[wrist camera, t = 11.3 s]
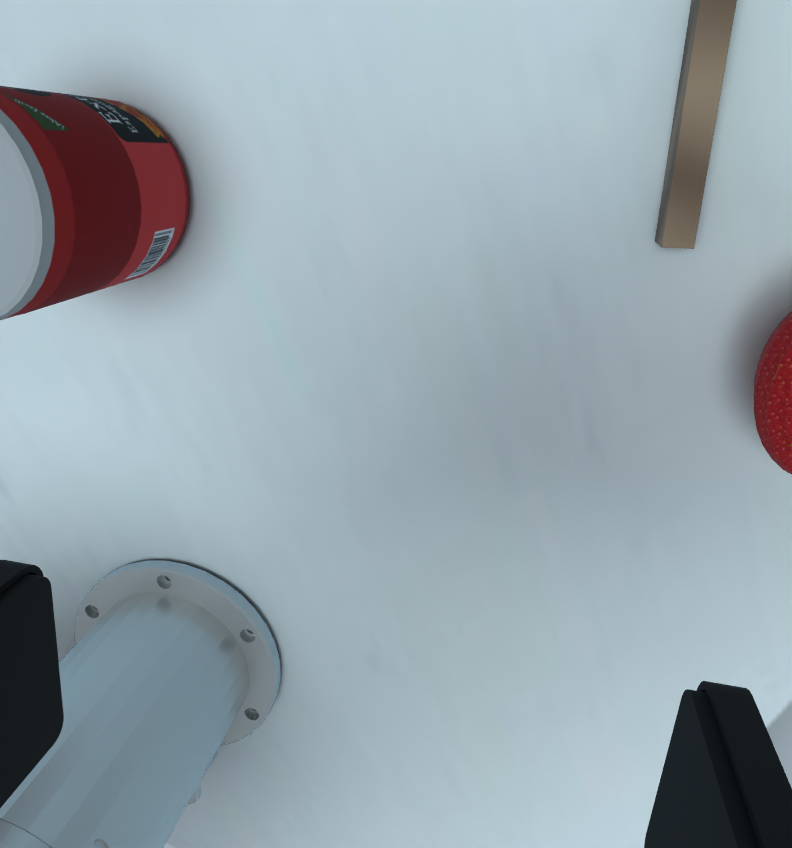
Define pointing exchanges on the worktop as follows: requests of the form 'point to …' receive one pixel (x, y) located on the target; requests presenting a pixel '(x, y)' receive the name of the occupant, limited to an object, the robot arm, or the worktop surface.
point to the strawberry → (776, 395)
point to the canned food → (82, 197)
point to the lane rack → (694, 121)
